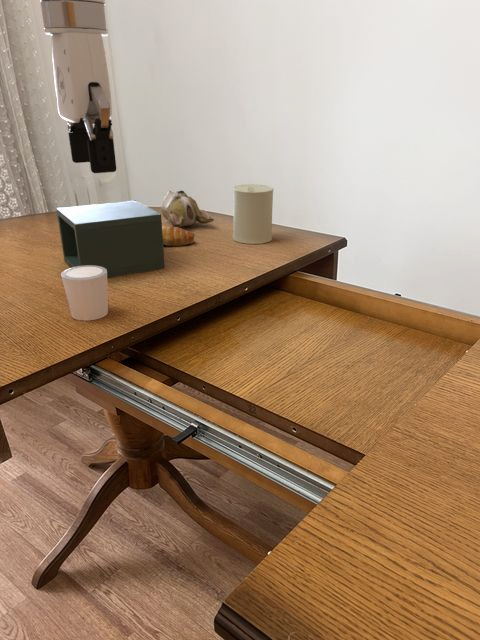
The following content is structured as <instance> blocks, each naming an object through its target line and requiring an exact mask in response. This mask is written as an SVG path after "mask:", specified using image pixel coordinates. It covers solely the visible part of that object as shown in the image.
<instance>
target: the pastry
mask: <svg viewBox="0 0 480 640" xmlns="http://www.w3.org/2000/svg"><path fill="white" fill-rule="evenodd" d="M162 234H163V245H165V246H168V247H169V246H170V247H171V246H174V247H177V246H178V247H180V246H185V245H189V244H190V245H191V244H193V243H194V241H195V233H193V232H191V231H190V230H186V229H184V228H182V227H179V228H178V227H174V226H172V225H162Z"/></svg>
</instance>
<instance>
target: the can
mask: <svg viewBox="0 0 480 640" xmlns="http://www.w3.org/2000/svg"><path fill="white" fill-rule="evenodd" d="M232 194H233V195H232V196H233V199H232V202H233V231H232V233H233V234H232V240H233V241H234V242H236V243H239V244H245V245H262V244H267V243H270V242H272V241H273V199H274V187H272V186H270V185H264V184H252V183H251V184H249V183H248V184H239V185H235V186H233V187H232Z"/></svg>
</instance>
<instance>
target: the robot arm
mask: <svg viewBox="0 0 480 640" xmlns="http://www.w3.org/2000/svg"><path fill="white" fill-rule="evenodd" d="M39 2H40V8H41V9H40V10H41V15H42V16H41V17H42V24H43V29H44V34H45V35H50V36H51V56H52V57H51V58H52V67H53V79H54V87H55V88H54V89H55V97H56V107H57V112H58V115H59V117H60V118H61V119H63V120H65V121H67V130H68V133H67V135H68V140H69V149H70V154H71V155H70V156H71V160H72V162H73V163H75V164H77V163H78V164H82V163H89V166H90V172H91V173H93V174H104V173H105V174H107V173H115V172H117V161H116V152H115V141H114V133H113V129H112V126H113V123H112V122H113V121H112V120H111V119H112V117H113V103H112V92H111V85H110V77H109V71H108V70H109V69H108V64H107V57H106V51H105V45H104V39H103V37H109V29H108V18H107V8H106V0H39Z"/></svg>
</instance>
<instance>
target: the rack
mask: <svg viewBox="0 0 480 640" xmlns="http://www.w3.org/2000/svg"><path fill="white" fill-rule="evenodd" d="M56 216H57V223H58V229H59V236H60V241H61V242H60V243H61V248H62V249H61V250H62V256H63V261H64V263H66V264H67V266H68V267H69V268H72V267H77V266H86V265H92V266H100V267H104V268H105V269H107V279H108V278H114V277H121V276H127V275H132V274H139V273H144V272H150V271H151V272H152V271H156V270H162V269H165V268H166V263H165V250H164V249H165V248H164V244H163V234H162V226H163V222H162V213H159V212H157V211H156V210H154V209H152V208H151V207H148V206H147V205H145V204H143V203H141V202H139V201H138V200H136V199H135V200H125V201H116V202H115V201H114V202H105V203H94V204H86V205H76V206H65V207H56Z"/></svg>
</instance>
